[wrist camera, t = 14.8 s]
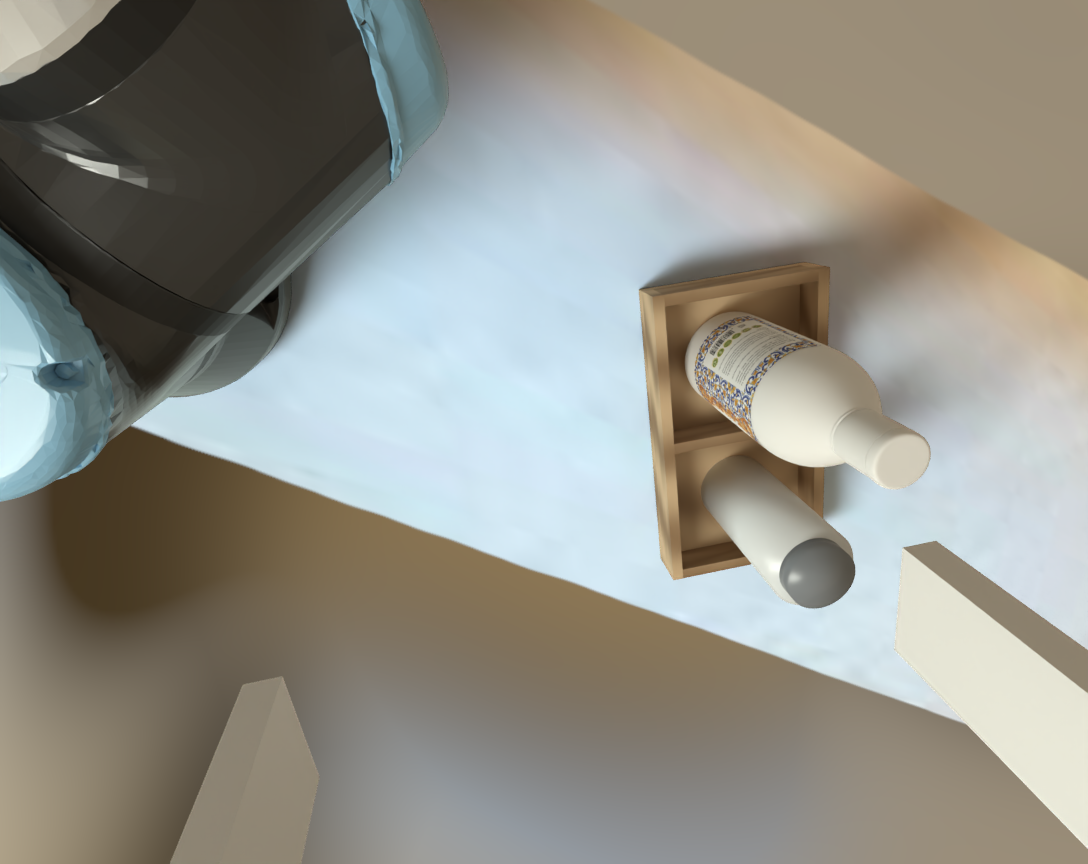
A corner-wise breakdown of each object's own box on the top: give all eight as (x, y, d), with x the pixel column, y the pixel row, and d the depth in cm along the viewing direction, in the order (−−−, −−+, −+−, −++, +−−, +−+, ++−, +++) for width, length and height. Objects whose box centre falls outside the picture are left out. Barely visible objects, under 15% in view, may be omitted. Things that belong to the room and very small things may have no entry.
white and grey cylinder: (688, 484, 51) (763, 577, 39) (744, 441, 51) (839, 522, 39) (723, 530, 54) (805, 631, 41) (778, 489, 53) (878, 580, 41)
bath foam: (666, 383, 48) (805, 505, 30) (708, 295, 46) (883, 368, 28) (743, 412, 50) (919, 545, 31) (786, 329, 48) (1001, 419, 29)
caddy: (638, 289, 46) (652, 296, 43) (805, 262, 47) (829, 267, 44) (660, 558, 55) (673, 580, 52) (801, 529, 56) (821, 549, 53)
